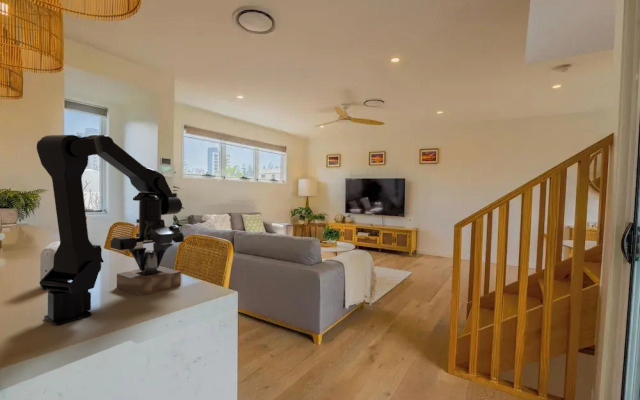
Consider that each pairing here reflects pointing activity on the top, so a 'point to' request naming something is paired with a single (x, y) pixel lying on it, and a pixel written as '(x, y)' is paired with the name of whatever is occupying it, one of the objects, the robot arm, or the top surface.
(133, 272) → the socket block
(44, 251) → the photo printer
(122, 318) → the top surface
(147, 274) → the grey metal cylinder
